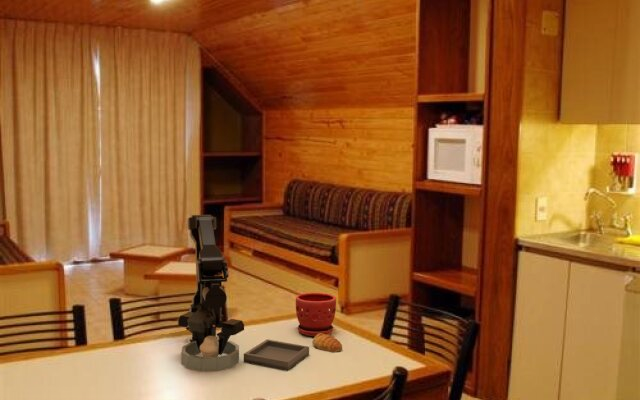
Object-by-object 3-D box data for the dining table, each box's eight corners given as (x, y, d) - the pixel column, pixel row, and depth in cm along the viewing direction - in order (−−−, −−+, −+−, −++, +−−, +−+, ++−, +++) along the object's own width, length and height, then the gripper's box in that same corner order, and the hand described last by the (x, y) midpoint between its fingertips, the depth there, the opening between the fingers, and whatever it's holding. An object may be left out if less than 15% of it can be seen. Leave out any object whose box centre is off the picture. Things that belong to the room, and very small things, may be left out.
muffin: (216, 364, 184) (217, 340, 183) (196, 362, 185) (196, 338, 184) (224, 356, 190) (224, 333, 189) (204, 354, 191) (204, 331, 190)
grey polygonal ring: (170, 364, 183) (170, 352, 183) (202, 347, 198) (202, 336, 197) (219, 375, 177) (219, 362, 177) (249, 356, 192) (249, 344, 191)
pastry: (347, 349, 200) (347, 337, 199) (332, 355, 195) (332, 342, 194) (324, 342, 206) (324, 330, 206) (309, 347, 201) (309, 335, 201)
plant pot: (343, 332, 215) (344, 296, 214) (315, 341, 206) (316, 304, 204) (314, 323, 224) (315, 289, 222) (286, 331, 214) (287, 295, 213)
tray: (243, 362, 187) (243, 353, 186) (266, 347, 199) (267, 339, 199) (287, 371, 181) (288, 362, 181) (309, 354, 194) (309, 346, 193)
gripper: (165, 301, 182) (166, 356, 184) (224, 310, 174) (223, 367, 176) (189, 292, 192) (189, 344, 194) (245, 300, 184) (244, 354, 186)
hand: (210, 352), depth 187 cm, fingers closed on muffin, 6 cm apart
